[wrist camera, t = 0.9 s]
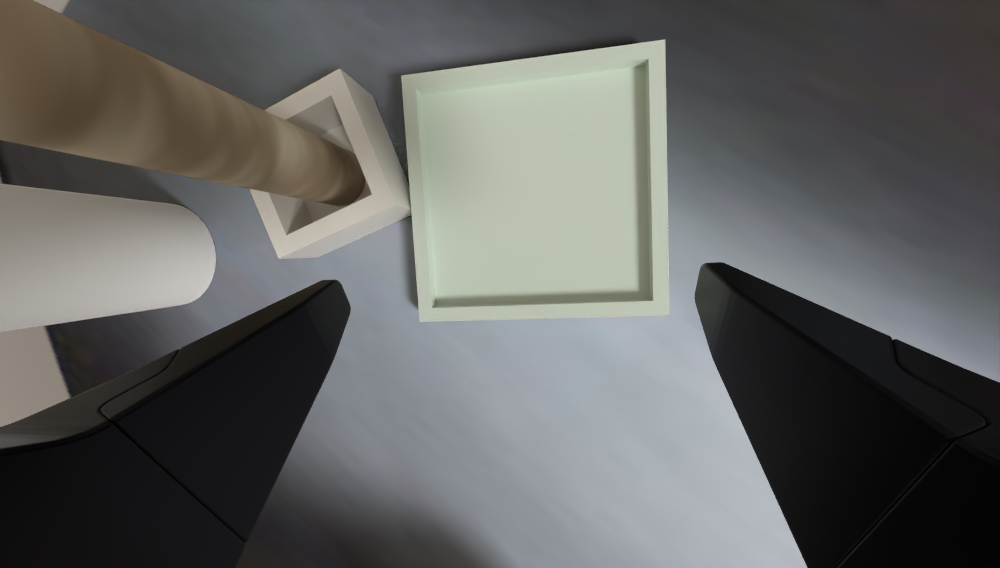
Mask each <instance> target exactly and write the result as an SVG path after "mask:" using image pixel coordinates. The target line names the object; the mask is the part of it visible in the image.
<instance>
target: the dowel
mask: <svg viewBox="0 0 1000 568" xmlns="http://www.w3.org/2000/svg"><path fill="white" fill-rule="evenodd" d="M0 140H3V141H7V142H13V143H18V144H23V145H28V146H33V147H38V148H43V149H48V150H53V151H59V152H64V153H69V154H74V155H79V156H84V157H89V158H94V159H99V160H105V161H110V162H115V163H120V164H125V165H130V166H135V167H140V168H145V169H151V170H156V171H161V172H166V173H171V174H176V175H181V176H186V177H191V178H196V179H202V180H207V181H212V182H217V183H222V184H227V185H232V186H237V187H242V188H248V189H253V190H258V191H263V192H268V193H273V194H278V195H283V196H288V197H294V198H299V199H304V200H309V201H314V202H319V203H324V204H329V205H334V206H345V205H348V204H351V203H352V202H354V201H355V200H356V199H357V198H358V197H359V196H360V195H361V193H362V191H363V189H364V186H365V176H364V174H363V171H362V169H361V166H360V164H359V161H358V159H357V157H356V155H355V154H354V153H353V152H351V151H349V150H347V149H345V148H343V147H341V146H338V145H336V144H334V143H332V142H330V141H328V140H326V139H324V138H322V137H319V136H317V135H315V134H313V133H311V132H309V131H307V130H305V129H303V128H301V127H298V126H296V125H294V124H292V123H290V122H288V121H286V120H284V119H282V118H279V117H277V116H275V115H273V114H271V113H269V112H267V111H265V110H263V109H261V108H258V107H256V106H254V105H252V104H250V103H248V102H246V101H244V100H242V99H239V98H237V97H235V96H233V95H231V94H229V93H227V92H225V91H223V90H221V89H218V88H216V87H214V86H212V85H210V84H208V83H206V82H204V81H202V80H199V79H197V78H195V77H193V76H191V75H189V74H187V73H185V72H183V71H181V70H178V69H176V68H174V67H172V66H170V65H168V64H166V63H164V62H162V61H159V60H157V59H155V58H153V57H151V56H149V55H147V54H145V53H143V52H141V51H138V50H136V49H134V48H132V47H130V46H128V45H126V44H124V43H122V42H119V41H117V40H115V39H113V38H111V37H109V36H107V35H105V34H103V33H101V32H98V31H96V30H94V29H92V28H90V27H88V26H86V25H84V24H82V23H79V22H77V21H75V20H73V19H71V18H69V17H67V16H65V15H63V14H60V13H58V12H56V11H54V10H52V9H50V8H48V7H46V6H43V5H42V4H39V3H37V2H35V1H33V0H0Z"/></svg>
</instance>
